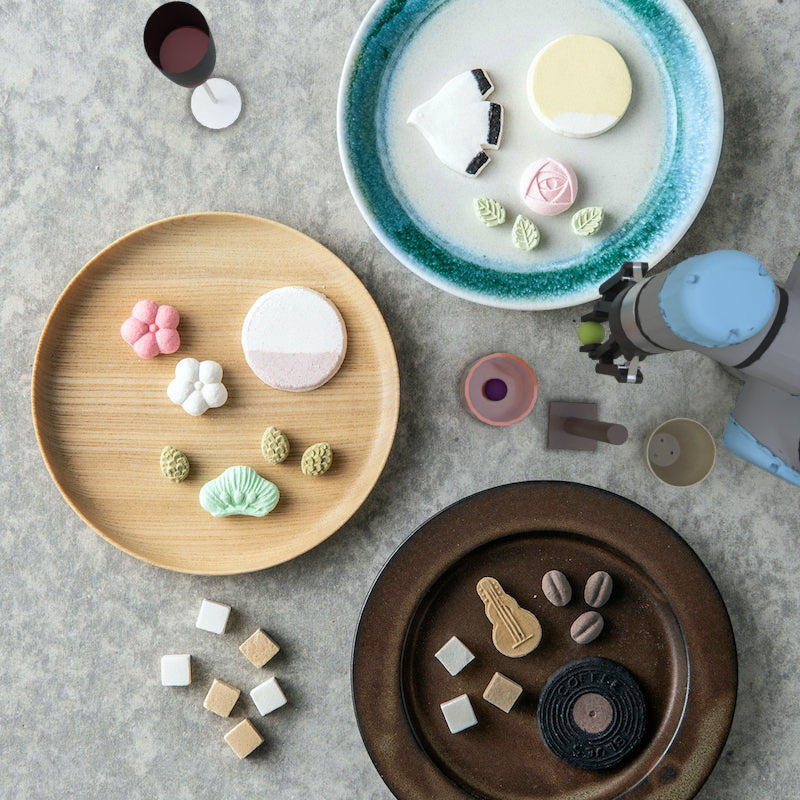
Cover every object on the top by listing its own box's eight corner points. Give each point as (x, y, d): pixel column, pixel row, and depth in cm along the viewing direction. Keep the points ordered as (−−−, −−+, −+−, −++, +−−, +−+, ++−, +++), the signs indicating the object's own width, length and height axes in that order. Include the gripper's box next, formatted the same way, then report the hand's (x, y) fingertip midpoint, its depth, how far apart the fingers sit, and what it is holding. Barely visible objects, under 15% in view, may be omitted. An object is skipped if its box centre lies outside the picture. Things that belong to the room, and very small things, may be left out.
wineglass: (248, 81, 107) (216, 9, 87) (235, 138, 107) (200, 79, 87) (196, 68, 106) (152, -7, 86) (183, 125, 106) (136, 64, 86)
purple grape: (505, 378, 107) (510, 378, 104) (504, 401, 107) (509, 402, 104) (482, 377, 107) (487, 377, 104) (482, 400, 107) (486, 401, 104)
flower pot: (687, 487, 108) (709, 494, 101) (623, 474, 108) (640, 480, 101) (701, 423, 108) (723, 425, 101) (637, 410, 108) (654, 411, 101)
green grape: (601, 322, 94) (609, 319, 90) (599, 348, 94) (607, 346, 90) (575, 321, 94) (582, 318, 90) (574, 347, 94) (581, 345, 90)
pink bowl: (528, 357, 108) (539, 354, 100) (525, 424, 108) (536, 427, 100) (460, 354, 108) (466, 351, 100) (458, 422, 108) (463, 424, 100)
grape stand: (595, 403, 108) (647, 406, 86) (593, 449, 108) (645, 464, 86) (549, 401, 108) (589, 404, 86) (547, 448, 108) (587, 462, 86)
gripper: (690, 400, 70) (615, 398, 94) (699, 234, 70) (622, 273, 93) (614, 397, 70) (558, 395, 93) (623, 230, 70) (564, 270, 93)
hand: (590, 334), depth 93 cm, fingers closed on green grape, 3 cm apart
